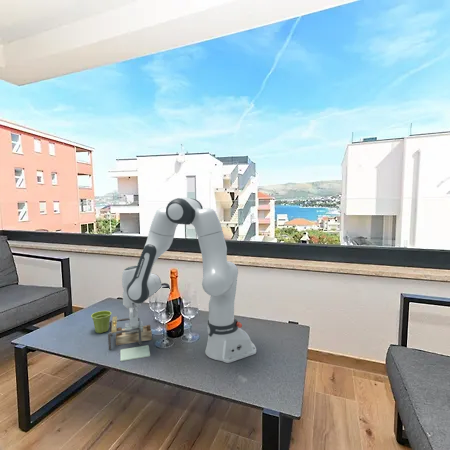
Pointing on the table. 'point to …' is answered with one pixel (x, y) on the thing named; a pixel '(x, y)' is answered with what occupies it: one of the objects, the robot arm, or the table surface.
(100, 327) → the plant pot
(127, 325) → the grey block with handle
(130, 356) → the sage mat
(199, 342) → the table surface
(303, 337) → the table surface
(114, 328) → the brass bolt
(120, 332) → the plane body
